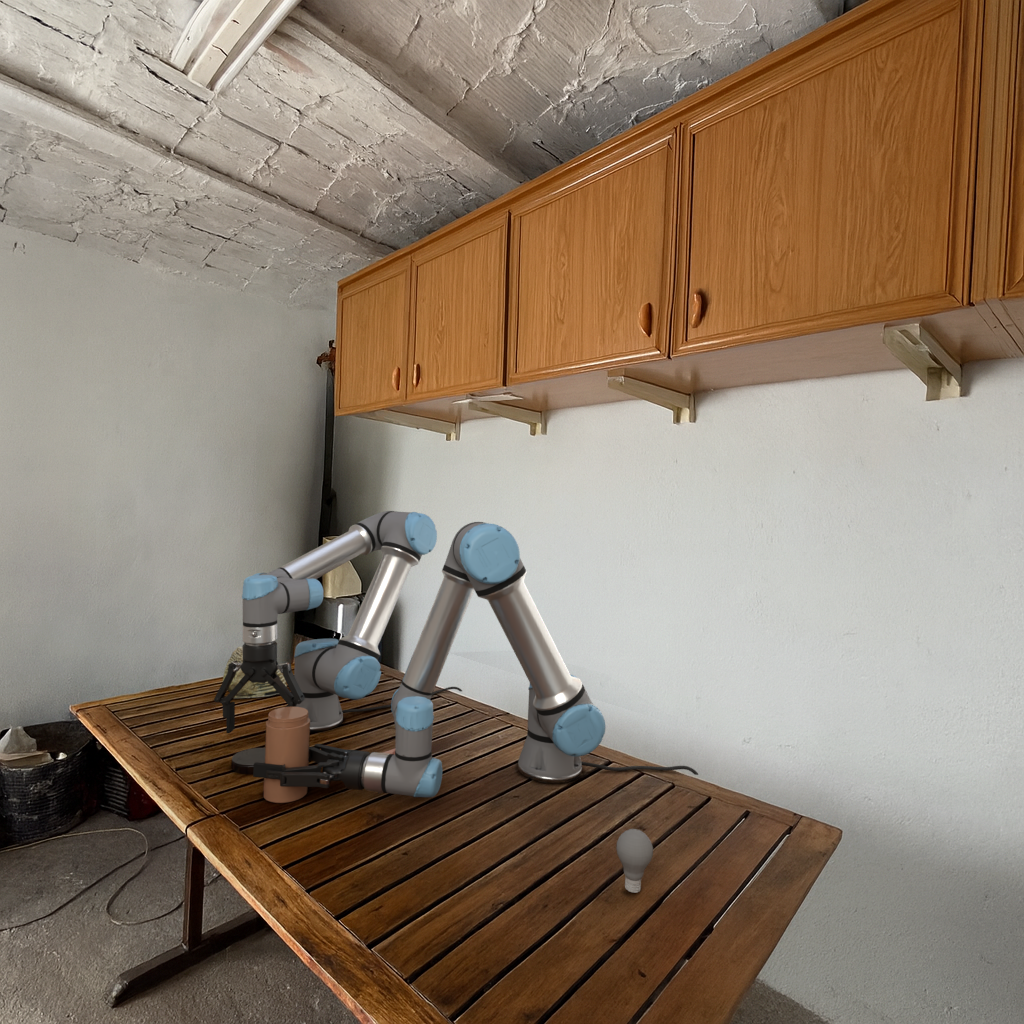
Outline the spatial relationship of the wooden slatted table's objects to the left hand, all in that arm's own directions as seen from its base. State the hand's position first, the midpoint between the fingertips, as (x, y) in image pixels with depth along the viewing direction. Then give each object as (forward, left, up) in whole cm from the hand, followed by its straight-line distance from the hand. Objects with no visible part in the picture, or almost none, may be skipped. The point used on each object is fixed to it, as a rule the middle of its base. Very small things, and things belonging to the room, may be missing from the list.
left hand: (259, 731), depth 148 cm
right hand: (+6, +14, -1) cm, 15 cm away
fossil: (-25, -47, -8) cm, 54 cm away
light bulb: (-16, +89, -8) cm, 91 cm away
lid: (+1, 0, -6) cm, 6 cm away
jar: (+4, +18, -8) cm, 19 cm away
